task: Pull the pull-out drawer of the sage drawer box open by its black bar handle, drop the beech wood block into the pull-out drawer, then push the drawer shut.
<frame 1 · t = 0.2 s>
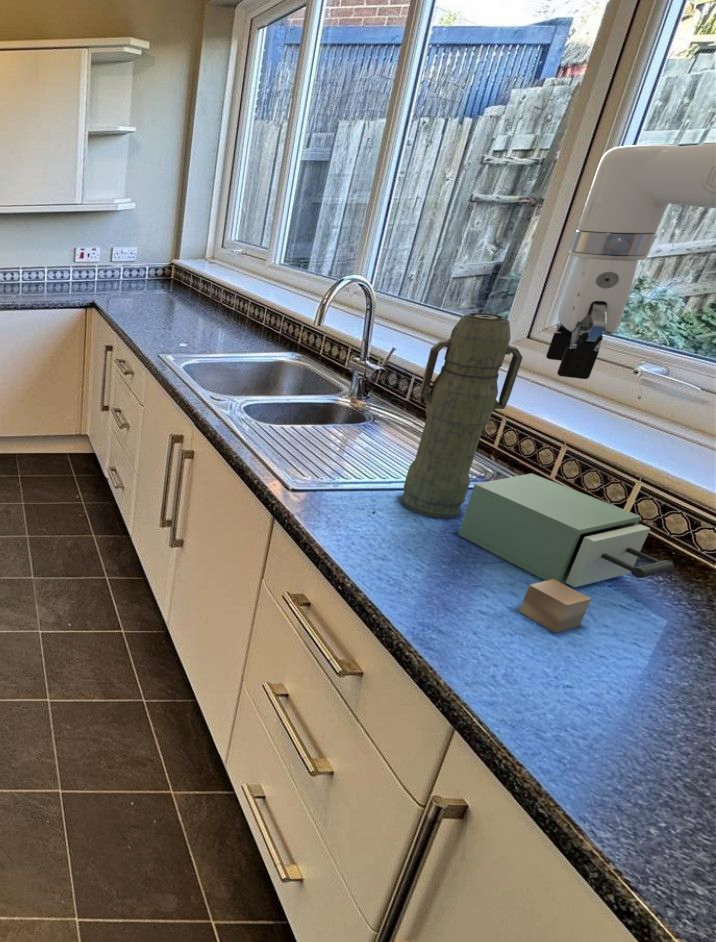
hand: (565, 368, 89), 30 cm above the countertop, tool pointing down, fingers open, 9 cm apart
thermos: (428, 506, 112), on the countertop
sage drawer box: (533, 552, 98), on the countertop
block: (548, 618, 84), on the countertop
pull-out drawer: (578, 542, 92), point 5 cm above the countertop, slide at 0.5 cm
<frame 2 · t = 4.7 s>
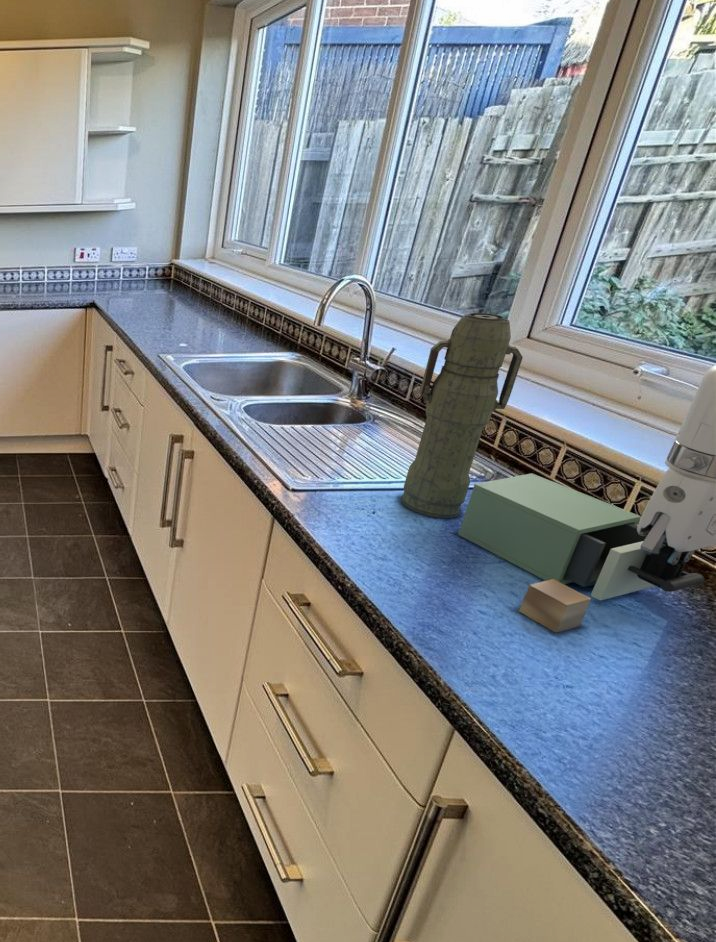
hand: (655, 582, 84), 4 cm above the countertop, tool pointing down, fingers closed
pull-out drawer: (602, 553, 89), point 5 cm above the countertop, slide at 3.6 cm, touching gripper
everything else where it was.
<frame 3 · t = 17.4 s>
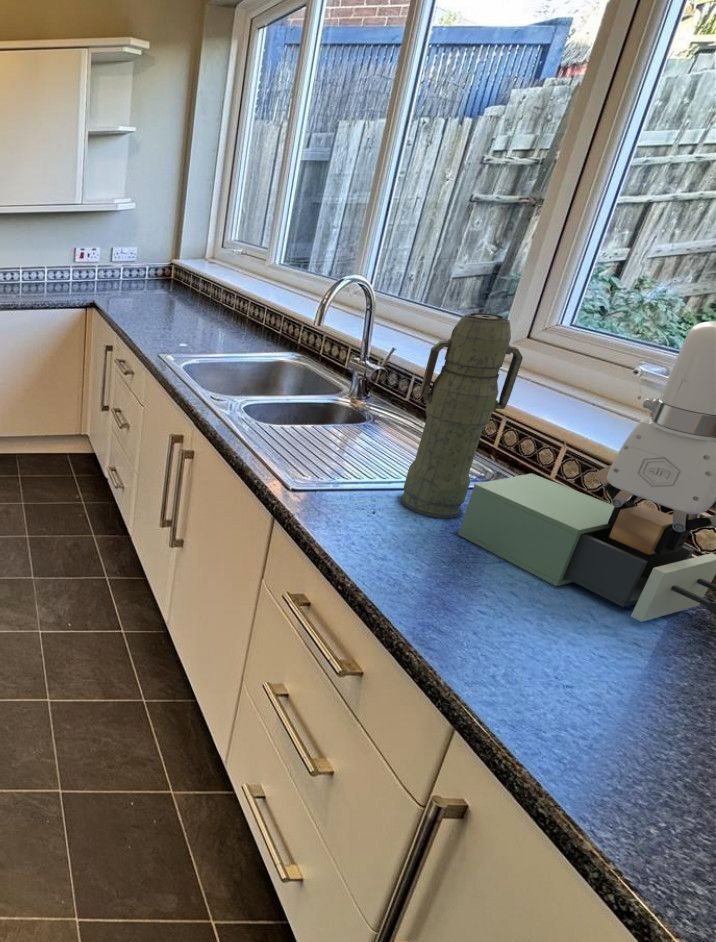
hand: (640, 540, 85), 9 cm above the countertop, tool pointing down, fingers closed on block, 4 cm apart
block: (639, 543, 85), point 9 cm above the countertop, touching gripper
pull-out drawer: (642, 571, 85), point 5 cm above the countertop, slide at 8.2 cm
everything else where it was.
when the fingers open (11 cm above the countertop, at t = 29.7 s): block drops 9 cm, resting on pull-out drawer.
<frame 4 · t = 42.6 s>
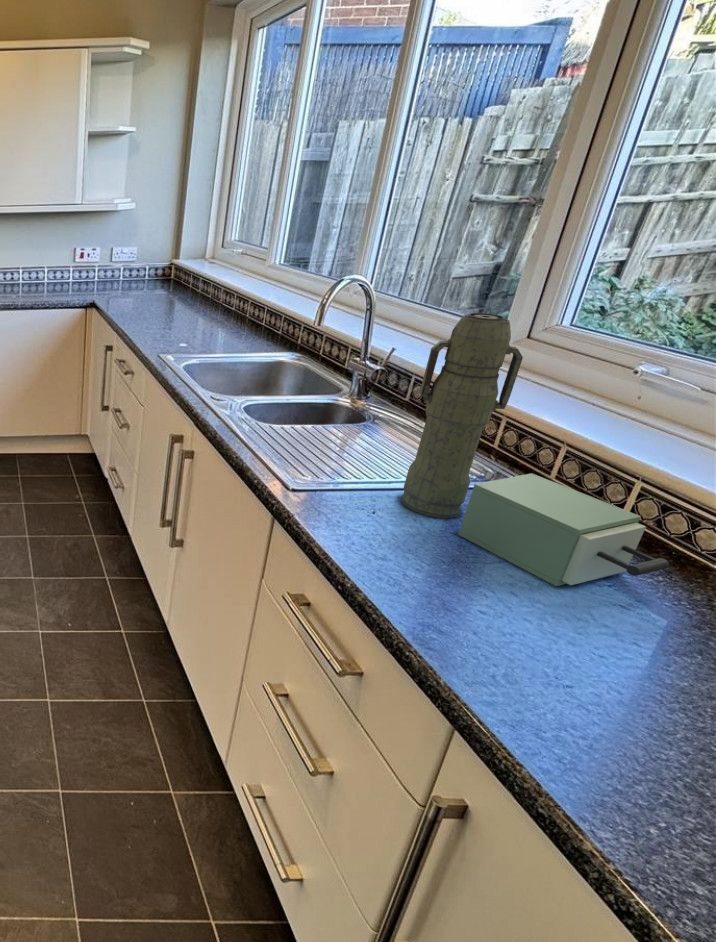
block: (557, 551, 95), point 2 cm above the countertop, touching pull-out drawer
pull-out drawer: (574, 540, 93), point 5 cm above the countertop, slide at 0.0 cm, touching block, sage drawer box
everything else where it was.
at the end: pull-out drawer pulled out 8.2 cm at the most during the clip, back to where it started at the end; block inside the target area in the sage drawer box (2.8 cm from its centre), point 2.0 cm above the sage drawer box's base; pull-out drawer slide at 0.0 cm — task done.
